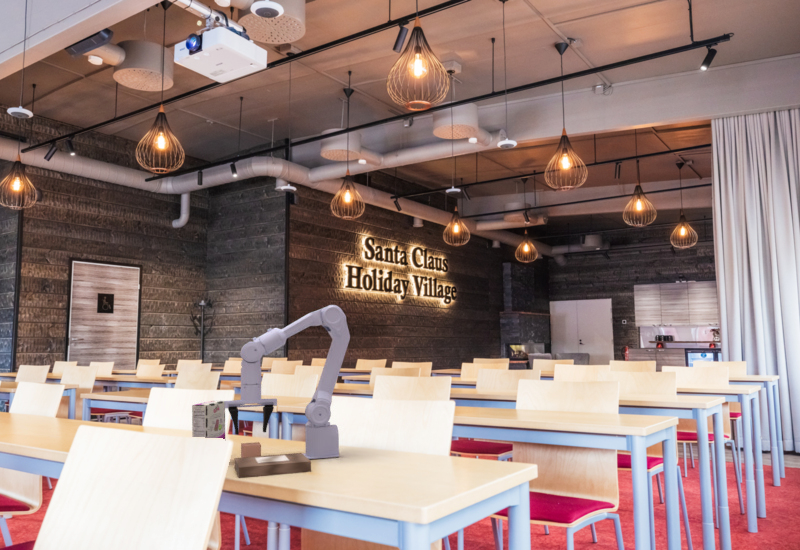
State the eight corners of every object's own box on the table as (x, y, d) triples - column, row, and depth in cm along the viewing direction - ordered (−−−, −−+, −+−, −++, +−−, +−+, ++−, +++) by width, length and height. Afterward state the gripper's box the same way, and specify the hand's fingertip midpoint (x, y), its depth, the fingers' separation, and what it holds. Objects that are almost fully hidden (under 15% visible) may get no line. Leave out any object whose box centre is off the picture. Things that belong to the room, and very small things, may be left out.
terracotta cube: (258, 459, 178) (258, 442, 179) (260, 462, 174) (261, 444, 174) (241, 461, 177) (241, 443, 177) (242, 464, 172) (242, 446, 173)
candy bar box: (210, 456, 186) (210, 400, 188) (225, 456, 185) (226, 400, 187) (190, 463, 175) (191, 404, 177) (207, 463, 174) (207, 404, 176)
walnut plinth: (301, 462, 173) (301, 452, 173) (310, 471, 160) (310, 460, 160) (234, 467, 167) (234, 457, 167) (238, 477, 154) (239, 466, 154)
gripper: (274, 382, 184) (274, 429, 182) (223, 384, 179) (223, 432, 177) (278, 383, 177) (278, 432, 176) (225, 386, 172) (224, 436, 171)
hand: (250, 432), depth 176 cm, fingers open, 7 cm apart
